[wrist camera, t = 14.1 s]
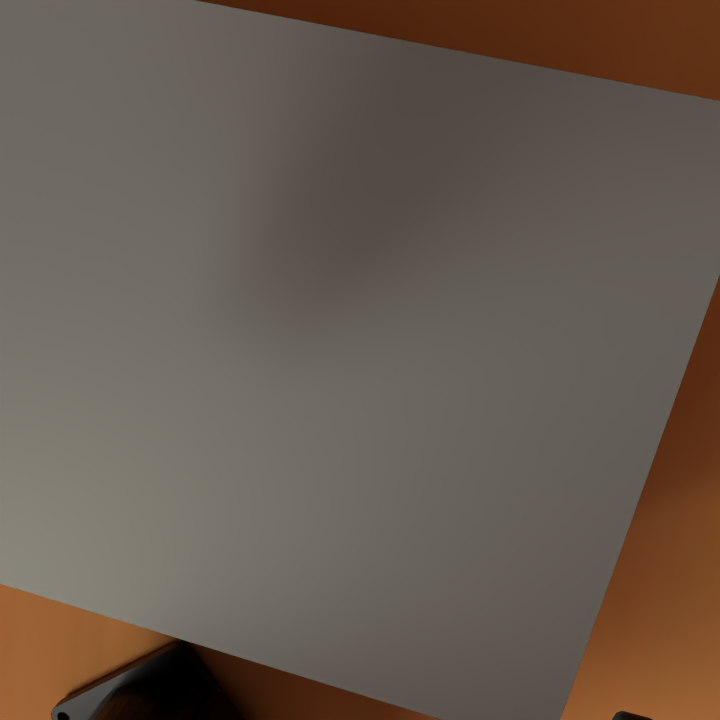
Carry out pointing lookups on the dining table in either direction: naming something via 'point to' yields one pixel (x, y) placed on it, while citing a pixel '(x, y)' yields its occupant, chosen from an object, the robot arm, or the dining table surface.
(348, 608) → the grey rectangular block
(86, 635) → the dining table surface
